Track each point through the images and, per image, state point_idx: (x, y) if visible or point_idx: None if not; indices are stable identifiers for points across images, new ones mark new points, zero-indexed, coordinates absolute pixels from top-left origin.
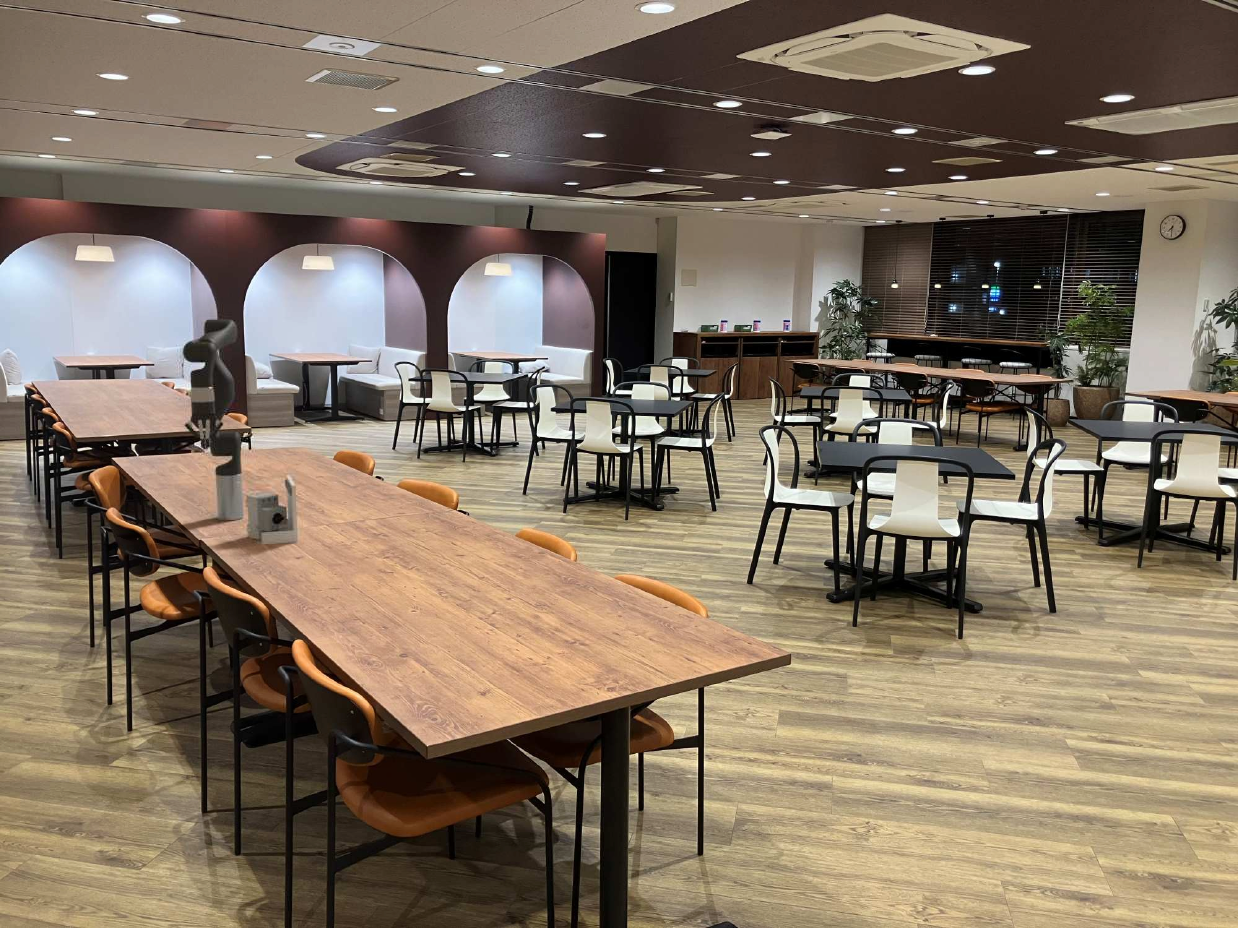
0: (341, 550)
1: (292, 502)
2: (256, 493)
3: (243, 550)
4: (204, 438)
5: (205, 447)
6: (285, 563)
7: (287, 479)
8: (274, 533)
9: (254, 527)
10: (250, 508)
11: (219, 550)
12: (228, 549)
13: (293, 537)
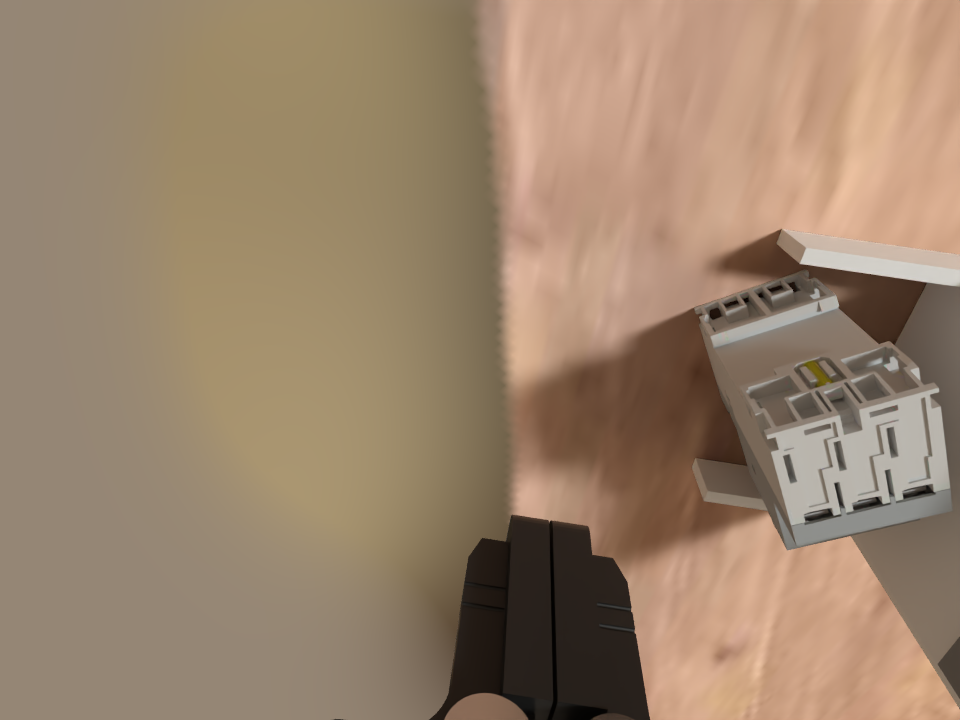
0: (890, 646)
1: (918, 639)
2: (859, 409)
3: (598, 509)
4: (542, 711)
5: (549, 544)
6: (662, 680)
7: None
8: (756, 505)
9: (723, 385)
10: (747, 419)
11: (519, 472)
12: (553, 474)
13: None
